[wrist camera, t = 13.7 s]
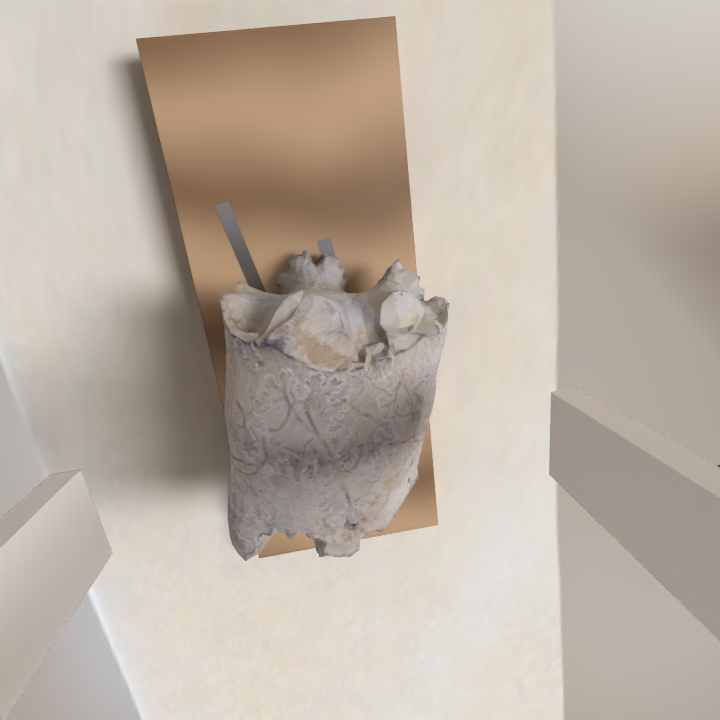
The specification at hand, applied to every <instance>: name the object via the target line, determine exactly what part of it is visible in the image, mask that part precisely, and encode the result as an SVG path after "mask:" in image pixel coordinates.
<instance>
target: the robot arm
mask: <svg viewBox="0 0 720 720" xmlns="http://www.w3.org/2000/svg"><path fill="white" fill-rule="evenodd" d="M549 475H550V476H551V477H552V478H554V479H555V480H556V481H557V482H558V483H559V484H560V485H561V486H562V487H563V488H564V489H565V490H566V491H567V492H568V493H569V494H570V495H571V496H572V497H573V498H574V499H575V500H576V501H577V502H578V503H579V504H580V505H581V506H582V507H583V508H584V509H585V510H586V511H587V512H588V513H589V514H590V515H591V516H592V517H593V518H595V520H596V521H598V522H599V523H600V524H601V525H602V526H603V527H604V528H605V529H606V530H607V531H608V532H609V533H610V534H611V535H612V536H613V537H614V538H615V539H616V540H617V541H618V542H619V543H620V544H621V545H622V546H623V547H624V548H625V549H626V550H627V551H628V552H629V553H631V555H632V556H633V557H634V558H635V559H636V560H638V562H639V563H640V564H642V565H643V566H644V567H645V568H646V569H647V570H648V571H649V572H650V573H651V574H652V575H653V576H654V577H655V578H656V579H657V580H658V581H659V582H660V583H661V584H662V585H663V586H664V587H665V588H666V589H667V590H668V591H669V592H670V593H671V594H672V595H673V596H674V597H675V598H676V599H677V600H678V601H679V602H680V603H681V604H682V605H683V606H684V607H686V608H687V609H688V610H689V611H690V612H691V613H692V614H693V615H694V616H695V617H696V618H697V619H698V620H699V621H700V622H701V623H702V624H703V625H704V626H705V627H706V628H707V629H708V630H709V631H710V632H711V633H712V634H713V635H714V636H715V637H716V638H717V639H718V640H719V641H720V465H717V466H716V465H715V464H713V463H711V462H709V461H707V460H706V459H704V458H702V457H700V456H698V455H696V454H695V453H693V452H691V451H689V450H687V449H685V448H684V447H682V446H680V445H678V444H677V443H675V442H673V441H671V440H669V439H667V438H666V437H664V436H662V435H660V434H658V433H657V432H655V431H653V430H651V429H649V428H647V427H646V426H644V425H642V424H640V423H638V422H636V421H635V420H633V419H631V418H629V417H627V416H626V415H624V414H622V413H620V412H618V411H617V410H615V409H613V408H611V407H609V406H608V405H606V404H604V403H602V402H600V401H598V400H597V399H595V398H593V397H591V396H589V395H588V394H586V393H584V392H582V391H580V390H579V389H577V388H574V389H568V390H562V391H556V392H551V420H550V465H549ZM111 555H112V550H111V548H110V545H109V542H108V540H107V537H106V534H105V532H104V529H103V527H102V524H101V521H100V519H99V516H98V513H97V511H96V508H95V506H94V503H93V500H92V498H91V495H90V492H89V490H88V487H87V485H86V482H85V479H84V477H83V474H82V472H81V470H75V471H69V472H63V473H57V474H51V475H49V476H48V477H47V478H46V479H45V480H44V481H43V482H42V483H40V484H39V485H38V486H37V487H36V488H35V489H34V490H32V491H31V492H30V493H29V494H28V495H27V496H26V497H25V498H24V499H22V500H21V501H20V502H19V503H18V504H17V505H16V506H14V508H12V509H11V510H10V511H9V512H8V513H6V515H4V516H3V517H2V518H1V519H0V720H5V719H6V718H7V716H8V715H9V713H10V711H11V710H12V708H13V707H14V705H15V704H16V702H17V701H18V699H19V698H20V696H21V694H22V693H23V691H24V690H25V688H26V687H27V685H28V684H29V682H30V680H31V679H32V677H33V676H34V674H35V673H36V671H37V670H38V668H39V667H40V665H41V663H42V662H43V660H44V659H45V657H46V655H47V654H48V653H49V651H50V649H51V648H52V646H53V645H54V643H55V642H56V640H57V638H58V637H59V636H60V634H61V632H62V631H63V629H64V628H65V626H66V625H67V623H68V622H69V620H70V618H71V617H72V615H73V614H74V612H75V611H76V609H77V608H78V606H79V604H80V603H81V601H82V600H83V598H84V597H85V595H86V594H87V592H88V591H89V589H90V587H91V586H92V584H93V583H94V581H95V580H96V578H97V577H98V575H99V573H100V572H101V570H102V569H103V567H104V566H105V564H106V563H107V561H108V560H109V558H110V556H111Z"/></svg>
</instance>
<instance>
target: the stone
mask: <svg viewBox="0 0 720 720" xmlns="http://www.w3.org/2000/svg"><path fill="white" fill-rule="evenodd" d="M339 261H340V259H339V258H337V257H334V256H332V255H331V254H330V253H328V252H327V253H324V254H322V255H321V256H320V258H319V260H318V261H317V262H313V261H312V259H311V256H310V254H309V252H308V250H304V251H303V252H302V255H296V256H294V257H293V258H292V259H291V260H289V261H288V262H287V263H288V269H287V270H286V271H285V272H281V273H280V275H279V276H278V278H277V282H276V285H277V287H278V288H279V291H280V293H281V295H278V294H272V293H267V292H263V291H260V290H258V289H255V288H252V287H250V286H248V285H247V284H244V283H242V282H239V281H238V282H237V284H236V286H235V289H234V291H233V293H225V294H220V303H221V310H222V317H223V323H224V328H225V340H226V349H227V352H226V386H225V422H226V427H227V435H228V444H229V448H230V480H229V491H228V524H229V531H230V538H231V541H232V544H233V546H234V548H235V549H236V551H237V552H238V554H239V555H240V556H241V557H242V558H243V559H244V560H245V561H247V560H248V559H250V558H251V557H253V556H255V555H257V554H259V553H261V551H262V550H263V549H264V547H265V545H266V543H267V542H268V541H269V540H270V538H271V537H272V536H273V535H274V534H276V533H277V532H285V534H286V536H287V537H288V538H291V539H292V538H294V537H296V536H297V535H299V534H300V533H305V534H306V535H307V537H308V538H312V539H313V540H314V542H315V546H316V551H317V553H318V554H319V557H324V556H333V557H350V556H352V555H353V554H354V553H356V552H357V551H358V550H359V544H360V538H361V537H363V536H369V535H370V534H371V532H372V531H373V530H376V531H378V532H380V533H382V532H383V531H384V530H385V529H386V528H387V527H388V526H389V524H390V522H391V521H392V519H393V518H394V517H395V516H396V513H397V510H398V509H399V507H400V506H401V505H402V503H403V502H404V500H405V498H406V497H407V495H408V493H409V492H410V491H411V489H412V488H413V487H414V485H415V483H416V481H417V480H418V469H417V466H418V462H419V456H420V453H421V449H422V445H423V441H424V438H425V434H426V431H427V427H428V423H429V419H430V415H431V412H432V408H433V402H434V397H435V389H436V379H435V378H436V374H437V370H438V367H439V362H440V358H441V353H442V349H443V346H444V342H445V336H446V332H447V320H448V311H449V303H448V302H447V301H446V300H445V298H441V297H436V296H435V297H433V298H431V299H430V300H429V301H424V289H423V288H421V287H419V286H418V284H419V280H420V277H419V276H417V275H416V274H414V273H413V272H411V271H408V270H404V269H402V266H401V263H400V260H396V261H395V262H394V263H393V264H392V265H391V266H390V267H389V268H388V269H387V270H386V272H385V274H384V275H383V277H382V278H381V279H380V280H379V281H378V283H377V284H376V285H375V286H374V287H373V288H371V289H370V290H367V291H364V292H360V293H346V291H345V287H346V285H347V282H348V281H347V280H345V279H344V278H343V275H344V274H345V271H346V268H344V267H341V266H339Z"/></svg>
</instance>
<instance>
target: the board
mask: <svg viewBox="0 0 720 720" xmlns="http://www.w3.org/2000/svg"><path fill="white" fill-rule="evenodd" d="M136 41H137V46H138V50H139V54H140V58H141V62H142V67H143V71H144V75H145V79H146V83H147V88H148V92H149V96H150V100H151V105H152V109H153V113H154V117H155V121H156V126H157V130H158V134H159V138H160V142H161V147H162V151H163V155H164V159H165V163H166V168H167V172H168V176H169V180H170V185H171V189H172V193H173V197H174V201H175V206H176V210H177V214H178V218H179V222H180V227H181V231H182V235H183V239H184V243H185V248H186V252H187V256H188V260H189V264H190V269H191V273H192V277H193V281H194V286H195V290H196V294H197V298H198V302H199V307H200V311H201V315H202V319H203V323H204V328H205V332H206V336H207V340H208V344H209V349H210V353H211V357H212V361H213V365H214V370H215V374H216V378H217V382H218V387H219V391H220V395H221V399H222V403H223V408H224V412H225V386H226V352H227V349H226V340H225V328H224V323H223V317H222V310H221V303H220V294H225V293H233V291H234V289H235V286H236V284H237V282H238V281H239V282H242V283H244V284H247V285H248V286H250V287H252V288H255V289H258V290H260V291H263V292H267V293H272V294H278V295H281V293H280V291H279V288H278V287H277V285H276V282H277V278H278V276H279V275H280V273H281V272H285V271H286V270H287V269H288V263H287V262H288V261H289V260H291V259H292V258H293V257H294V256H296V255H302V252H303V251H304V250H308V252H309V254H310V256H311V259H312V261H313V262H317V261H318V260H319V258H320V256H321V255H322V254H324V253H327V252H328V253H330V254H331V255H332V256H334V257H337V258H339V259H340V261H339V266H341V267H344V268H346V271H345V274H344V275H343V278H344V279H345V280H347V281H348V282H347V285H346V287H345V291H346V293H360V292H364V291H367V290H370V289H371V288H373V287H374V286H375V285H376V284H377V283H378V281H379V280H380V279H381V278H382V277H383V275H384V274H385V272H386V270H387V269H388V268H389V267H390V266H391V265H392V264H393V263H394V262H395V261H396V260H400V263H401V266H402V269H404V270H408V271H411V272H413V273H414V274H416V275H417V269H416V258H415V246H414V234H413V222H412V210H411V198H410V187H409V175H408V163H407V151H406V139H405V127H404V116H403V104H402V92H401V80H400V68H399V56H398V44H397V33H396V21H395V16H393V17H381V18H370V19H358V20H347V21H335V22H324V23H312V24H301V25H289V26H278V27H266V28H255V29H243V30H232V31H220V32H209V33H197V34H186V35H174V36H163V37H151V38H140V39H136ZM417 469H418V480H417V481H416V483H415V485H414V487H413V488H412V489H411V491H410V492H409V493H408V495H407V497H406V498H405V500H404V502H403V503H402V505H401V506H400V507H399V509H398V510H397V513H396V516H395V517H394V518H393V519H392V521H391V522H390V524H389V526H388V527H387V528H386V529H385V530H384V531H383V532H382V533H380V532H378V531H376V530H373V531H372V532H371V534H370V535H369V536H363V537H361V538H360V539H365V538H370V537H375V536H381V535H386V534H391V533H397V532H402V531H407V530H413V529H418V528H424V527H429V526H434V525H438V518H437V506H436V494H435V483H434V471H433V459H432V447H431V435H430V423H428V427H427V431H426V434H425V438H424V441H423V445H422V449H421V453H420V456H419V462H418V466H417ZM311 548H316V546H315V542H314V540H313V539H312V538H308V537H307V535H306V534H305V533H300V534H299V535H297V536H296V537H294V538H292V539H291V538H288V537H287V536H286V534H285V532H277V533H276V534H274V535H273V536H272V537H271V538H270V540H269V541H268V542H267V543H266V545H265V547H264V549H263V550H262V551H261V553H259V554H258V555H259V558H263V557H268V556H274V555H279V554H284V553H290V552H295V551H301V550H306V549H311Z"/></svg>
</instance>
